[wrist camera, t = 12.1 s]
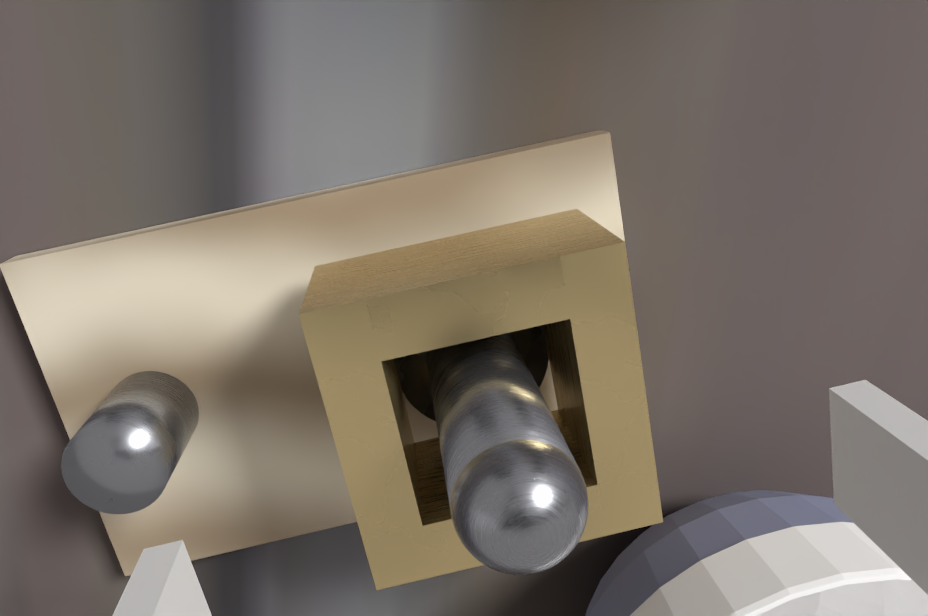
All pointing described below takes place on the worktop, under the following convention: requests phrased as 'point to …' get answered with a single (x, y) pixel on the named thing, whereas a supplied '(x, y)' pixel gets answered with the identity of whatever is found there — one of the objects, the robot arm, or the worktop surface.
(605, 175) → the birch board
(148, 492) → the short steel post
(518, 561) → the tall steel post
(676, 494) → the worktop surface
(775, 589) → the bowl
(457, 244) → the brass collar
